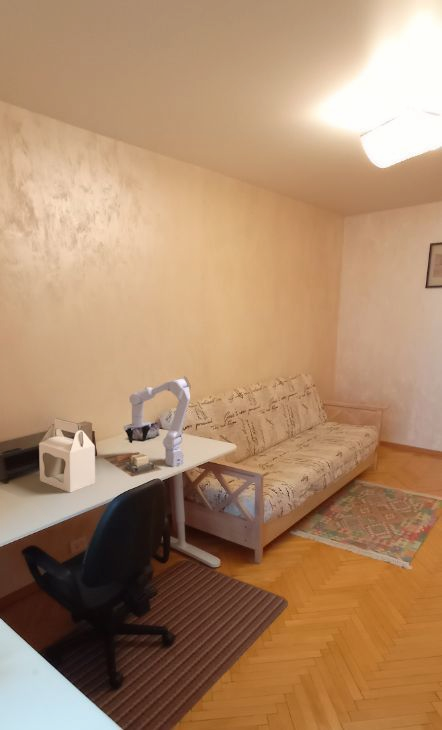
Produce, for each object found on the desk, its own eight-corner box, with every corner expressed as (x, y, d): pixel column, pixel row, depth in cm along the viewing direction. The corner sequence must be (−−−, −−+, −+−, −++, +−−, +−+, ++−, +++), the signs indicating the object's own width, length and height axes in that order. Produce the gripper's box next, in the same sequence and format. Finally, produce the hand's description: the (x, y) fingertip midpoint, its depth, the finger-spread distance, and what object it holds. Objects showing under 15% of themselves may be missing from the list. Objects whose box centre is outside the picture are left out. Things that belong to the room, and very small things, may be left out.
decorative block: (75, 466, 206) (74, 427, 204) (68, 464, 209) (67, 425, 207) (93, 460, 215) (92, 422, 213) (85, 458, 219) (85, 421, 216)
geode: (149, 432, 272) (151, 417, 270) (162, 438, 265) (165, 423, 264) (126, 438, 255) (128, 422, 253) (139, 444, 249) (142, 428, 247)
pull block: (153, 467, 204) (153, 455, 203) (131, 472, 197) (131, 460, 196) (138, 458, 217) (138, 447, 216) (116, 463, 209) (116, 451, 209)
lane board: (162, 471, 202) (162, 464, 202) (131, 478, 192) (131, 471, 192) (131, 454, 227) (131, 447, 226) (103, 459, 217) (103, 453, 216)
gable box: (95, 483, 186) (95, 421, 183) (70, 493, 175) (69, 427, 172) (64, 472, 198) (63, 414, 195) (39, 481, 187) (37, 419, 184)
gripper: (146, 412, 224) (146, 437, 225) (121, 416, 215) (121, 441, 217) (152, 415, 218) (152, 440, 220) (126, 418, 210) (127, 445, 211)
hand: (137, 441), depth 218 cm, fingers open, 7 cm apart
